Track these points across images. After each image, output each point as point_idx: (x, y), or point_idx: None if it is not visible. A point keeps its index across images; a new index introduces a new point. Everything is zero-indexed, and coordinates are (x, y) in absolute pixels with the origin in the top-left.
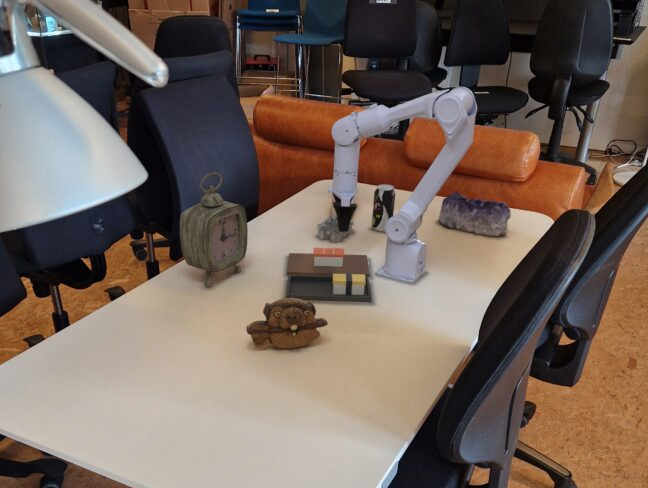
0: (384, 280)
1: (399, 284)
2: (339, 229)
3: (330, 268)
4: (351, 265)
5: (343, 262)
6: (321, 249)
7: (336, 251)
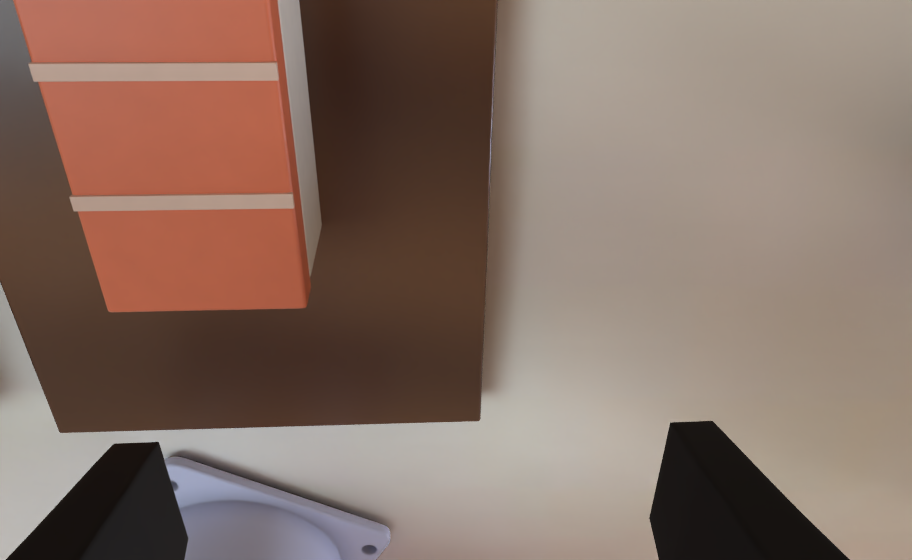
0: None
1: None
2: (84, 478)
3: None
4: None
5: None
6: (206, 34)
7: (183, 234)
